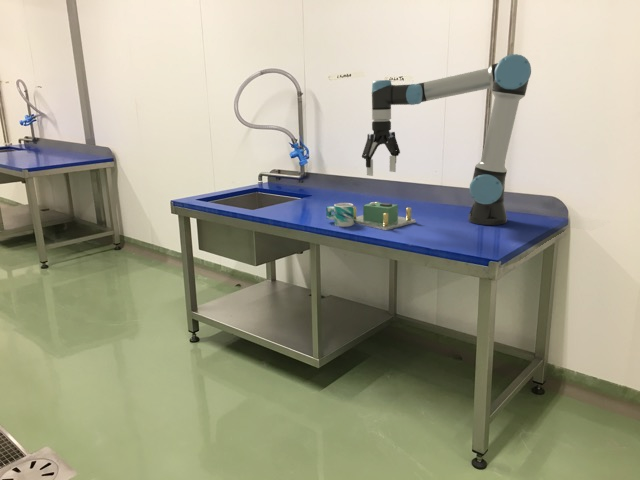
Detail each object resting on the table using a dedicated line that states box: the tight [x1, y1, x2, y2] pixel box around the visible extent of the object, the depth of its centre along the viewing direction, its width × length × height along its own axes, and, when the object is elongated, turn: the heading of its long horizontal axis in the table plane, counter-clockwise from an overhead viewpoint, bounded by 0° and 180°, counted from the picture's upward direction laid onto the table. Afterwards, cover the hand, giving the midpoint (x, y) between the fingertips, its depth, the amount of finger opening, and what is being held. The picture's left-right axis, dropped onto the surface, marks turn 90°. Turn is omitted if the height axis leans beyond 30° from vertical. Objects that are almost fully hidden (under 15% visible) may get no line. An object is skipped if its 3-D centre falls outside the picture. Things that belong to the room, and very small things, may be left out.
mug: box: [325, 202, 355, 228], centre depth 222 cm, size 8×12×8 cm
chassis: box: [353, 201, 416, 231], centre depth 223 cm, size 22×18×6 cm
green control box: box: [362, 201, 399, 223], centre depth 223 cm, size 12×8×7 cm, turn 54°
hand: (381, 173), depth 219 cm, fingers open, 13 cm apart
